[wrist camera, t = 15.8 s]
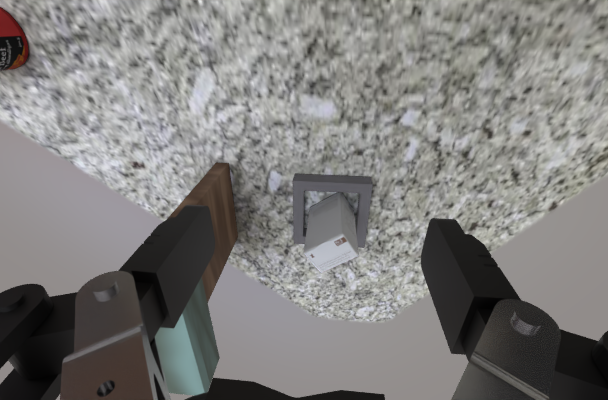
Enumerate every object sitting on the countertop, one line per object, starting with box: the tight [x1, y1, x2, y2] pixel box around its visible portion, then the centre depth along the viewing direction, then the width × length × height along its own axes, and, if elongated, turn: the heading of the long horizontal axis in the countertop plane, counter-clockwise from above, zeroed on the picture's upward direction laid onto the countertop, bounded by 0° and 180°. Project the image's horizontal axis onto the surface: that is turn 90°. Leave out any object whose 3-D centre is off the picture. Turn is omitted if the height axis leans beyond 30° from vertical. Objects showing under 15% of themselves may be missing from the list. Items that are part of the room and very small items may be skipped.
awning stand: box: [155, 163, 238, 395], centre depth 39 cm, size 6×15×26 cm, turn 0°
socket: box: [293, 174, 373, 248], centre depth 48 cm, size 12×12×2 cm
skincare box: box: [304, 192, 359, 273], centre depth 44 cm, size 6×4×12 cm
